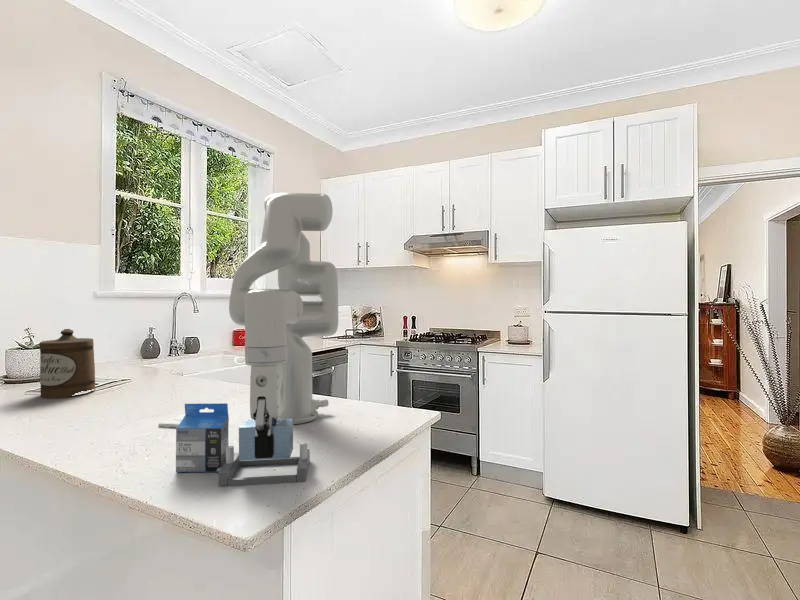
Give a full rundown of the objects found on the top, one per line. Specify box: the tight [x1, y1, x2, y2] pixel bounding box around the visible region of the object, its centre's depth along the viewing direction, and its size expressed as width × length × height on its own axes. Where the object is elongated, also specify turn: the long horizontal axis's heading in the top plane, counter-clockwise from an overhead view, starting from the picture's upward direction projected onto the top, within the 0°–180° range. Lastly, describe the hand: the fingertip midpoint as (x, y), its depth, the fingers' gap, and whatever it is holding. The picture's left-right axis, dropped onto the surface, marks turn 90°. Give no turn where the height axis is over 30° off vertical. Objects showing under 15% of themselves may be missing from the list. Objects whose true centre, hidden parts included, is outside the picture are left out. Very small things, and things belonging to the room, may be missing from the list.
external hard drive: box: [158, 410, 214, 428], centre depth 116 cm, size 2×8×12 cm
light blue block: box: [238, 418, 294, 461], centre depth 82 cm, size 5×9×6 cm, turn 97°
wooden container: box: [39, 328, 96, 399], centre depth 148 cm, size 15×15×22 cm
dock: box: [217, 442, 311, 487], centre depth 82 cm, size 10×15×5 cm, turn 97°
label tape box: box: [175, 402, 230, 473], centre depth 84 cm, size 9×4×12 cm, turn 90°
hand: (266, 450), depth 82 cm, fingers closed on light blue block, 5 cm apart
